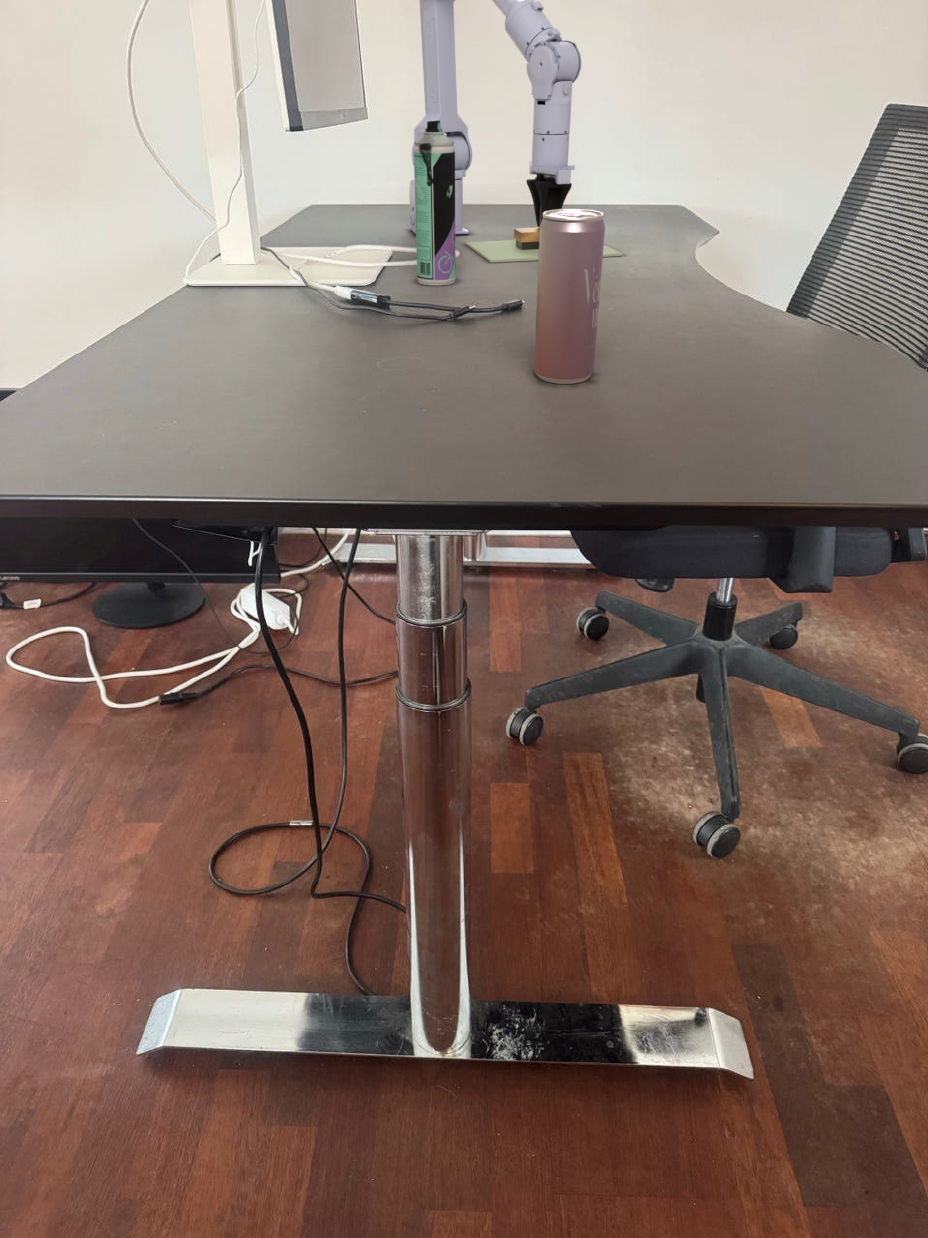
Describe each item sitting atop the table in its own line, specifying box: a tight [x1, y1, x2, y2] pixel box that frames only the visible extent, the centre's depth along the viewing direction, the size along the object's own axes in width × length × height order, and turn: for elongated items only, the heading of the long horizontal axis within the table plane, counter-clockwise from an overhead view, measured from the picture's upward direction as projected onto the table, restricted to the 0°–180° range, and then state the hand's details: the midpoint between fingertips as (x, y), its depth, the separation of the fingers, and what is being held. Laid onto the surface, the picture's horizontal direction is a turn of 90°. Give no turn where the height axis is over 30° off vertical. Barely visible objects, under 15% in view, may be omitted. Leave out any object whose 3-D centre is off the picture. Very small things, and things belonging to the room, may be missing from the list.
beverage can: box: [533, 208, 606, 385], centre depth 84 cm, size 6×6×15 cm
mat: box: [465, 239, 623, 264], centre depth 144 cm, size 22×16×1 cm
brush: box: [513, 205, 542, 250], centre depth 143 cm, size 10×4×7 cm, turn 104°
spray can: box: [413, 121, 457, 286], centre depth 119 cm, size 6×6×20 cm
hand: (546, 227), depth 143 cm, fingers closed on brush, 2 cm apart
